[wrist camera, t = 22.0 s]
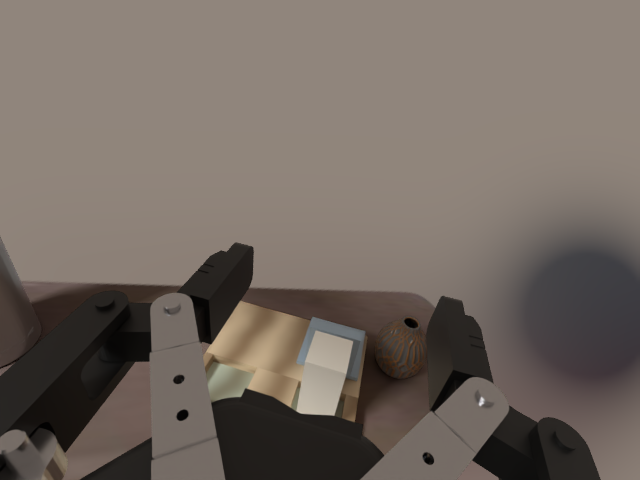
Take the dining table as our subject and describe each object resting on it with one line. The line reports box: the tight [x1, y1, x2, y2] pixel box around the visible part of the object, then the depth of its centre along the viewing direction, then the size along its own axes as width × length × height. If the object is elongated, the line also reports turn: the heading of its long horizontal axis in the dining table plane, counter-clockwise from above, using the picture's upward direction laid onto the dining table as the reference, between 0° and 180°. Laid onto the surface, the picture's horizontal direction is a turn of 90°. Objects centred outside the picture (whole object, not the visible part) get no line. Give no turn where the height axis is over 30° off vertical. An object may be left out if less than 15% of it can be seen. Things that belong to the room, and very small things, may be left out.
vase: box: [375, 316, 427, 379], centre depth 45 cm, size 7×7×9 cm
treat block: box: [296, 331, 353, 416], centre depth 36 cm, size 4×4×12 cm
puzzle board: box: [203, 301, 368, 422], centre depth 43 cm, size 20×18×2 cm
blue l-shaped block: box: [296, 317, 366, 381], centre depth 44 cm, size 8×8×7 cm
